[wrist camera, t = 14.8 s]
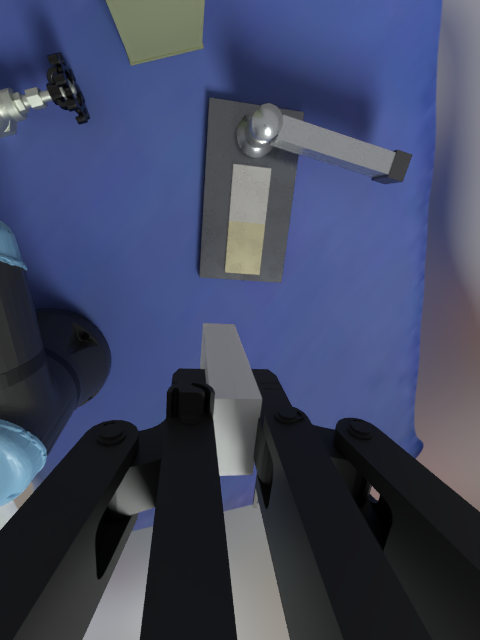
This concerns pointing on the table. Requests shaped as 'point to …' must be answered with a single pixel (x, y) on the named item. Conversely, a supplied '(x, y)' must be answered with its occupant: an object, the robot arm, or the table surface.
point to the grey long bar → (325, 145)
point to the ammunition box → (158, 27)
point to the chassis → (244, 198)
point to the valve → (42, 97)
